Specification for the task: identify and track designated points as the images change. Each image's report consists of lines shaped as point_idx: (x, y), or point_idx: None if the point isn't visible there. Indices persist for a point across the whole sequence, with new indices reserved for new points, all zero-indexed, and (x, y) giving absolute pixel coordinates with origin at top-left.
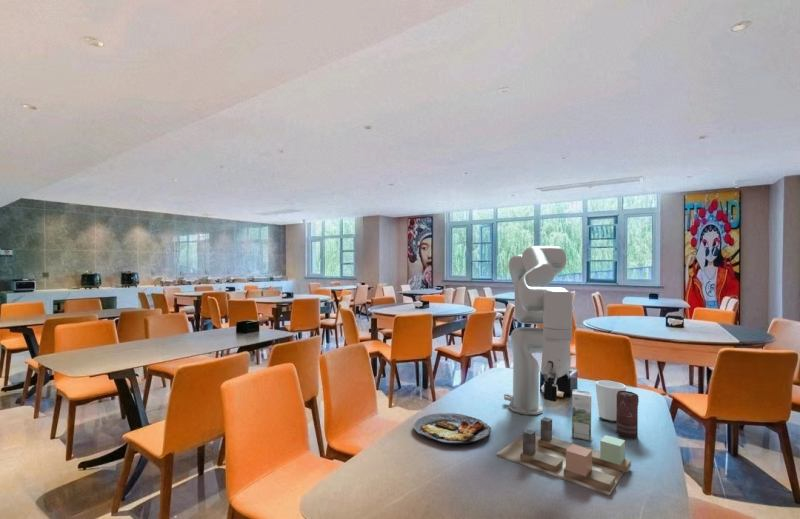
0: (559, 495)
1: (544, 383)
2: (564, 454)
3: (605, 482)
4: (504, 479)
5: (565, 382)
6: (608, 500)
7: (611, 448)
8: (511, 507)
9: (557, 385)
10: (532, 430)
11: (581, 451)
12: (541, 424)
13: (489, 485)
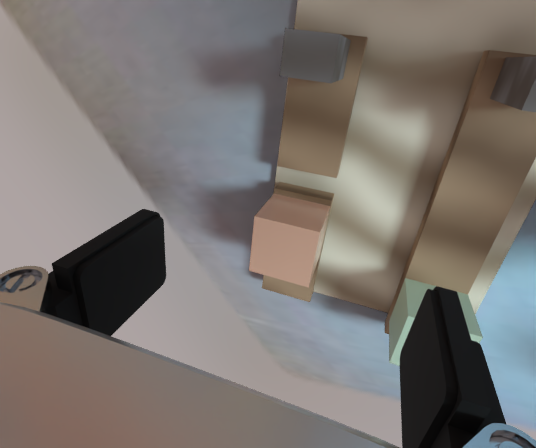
0: (198, 181)
1: (4, 280)
2: (440, 164)
3: (265, 280)
4: (174, 28)
5: (410, 417)
6: (244, 271)
7: (396, 332)
8: (88, 96)
9: (444, 315)
10: (333, 65)
11: (276, 259)
12: (532, 62)
13: (120, 3)
